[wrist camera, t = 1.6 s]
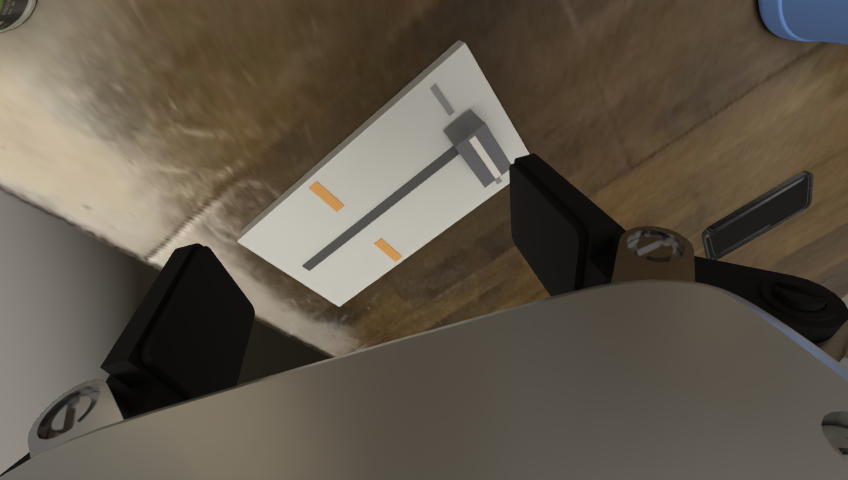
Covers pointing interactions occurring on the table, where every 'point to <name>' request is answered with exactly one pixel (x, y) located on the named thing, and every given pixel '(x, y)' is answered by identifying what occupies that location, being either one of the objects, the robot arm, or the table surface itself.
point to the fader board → (385, 184)
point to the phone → (758, 216)
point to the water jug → (807, 19)
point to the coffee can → (14, 13)
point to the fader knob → (478, 147)
